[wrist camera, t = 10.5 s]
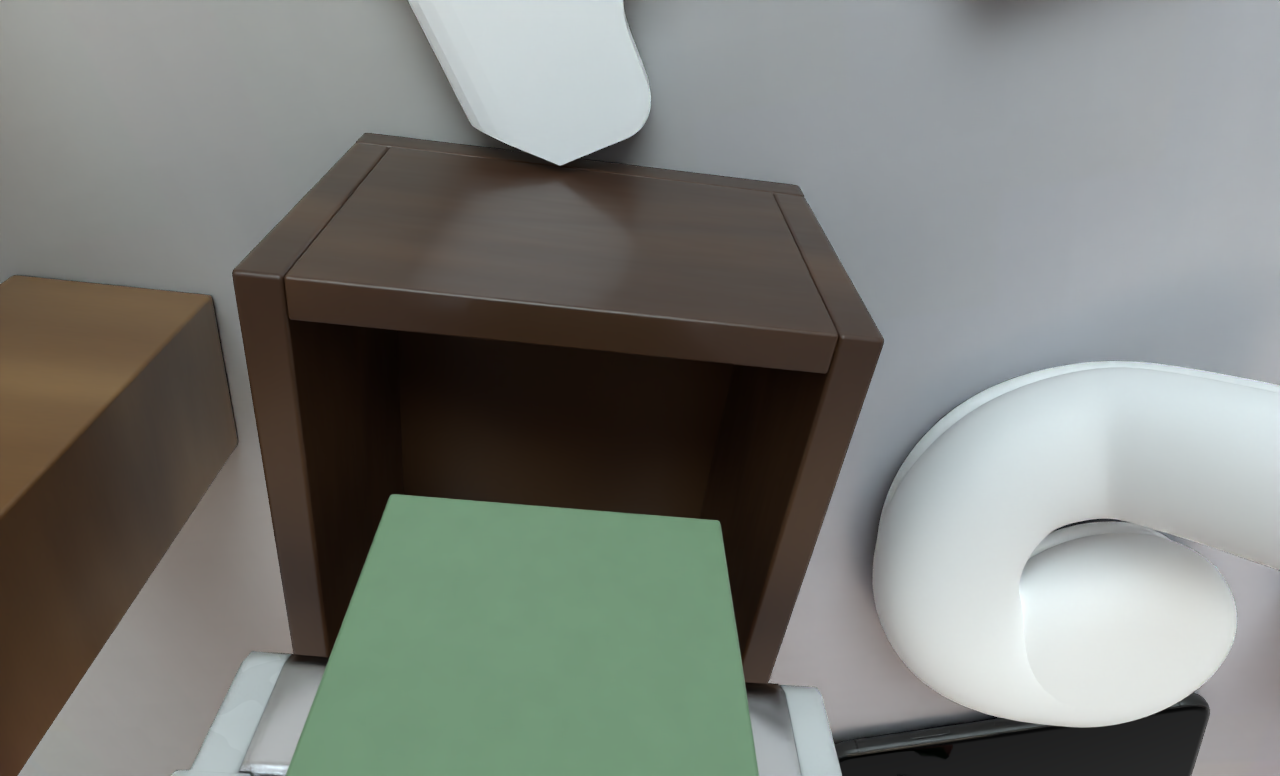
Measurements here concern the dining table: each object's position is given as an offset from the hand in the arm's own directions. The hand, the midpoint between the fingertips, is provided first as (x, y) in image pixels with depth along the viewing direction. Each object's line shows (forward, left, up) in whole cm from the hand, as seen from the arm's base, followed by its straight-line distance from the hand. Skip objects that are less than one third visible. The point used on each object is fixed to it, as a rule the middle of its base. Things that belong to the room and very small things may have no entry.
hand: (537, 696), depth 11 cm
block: (0, 0, -1) cm, 1 cm away
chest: (+3, 0, -13) cm, 13 cm away
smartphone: (+20, +20, -13) cm, 31 cm away
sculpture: (+6, +16, -13) cm, 21 cm away
